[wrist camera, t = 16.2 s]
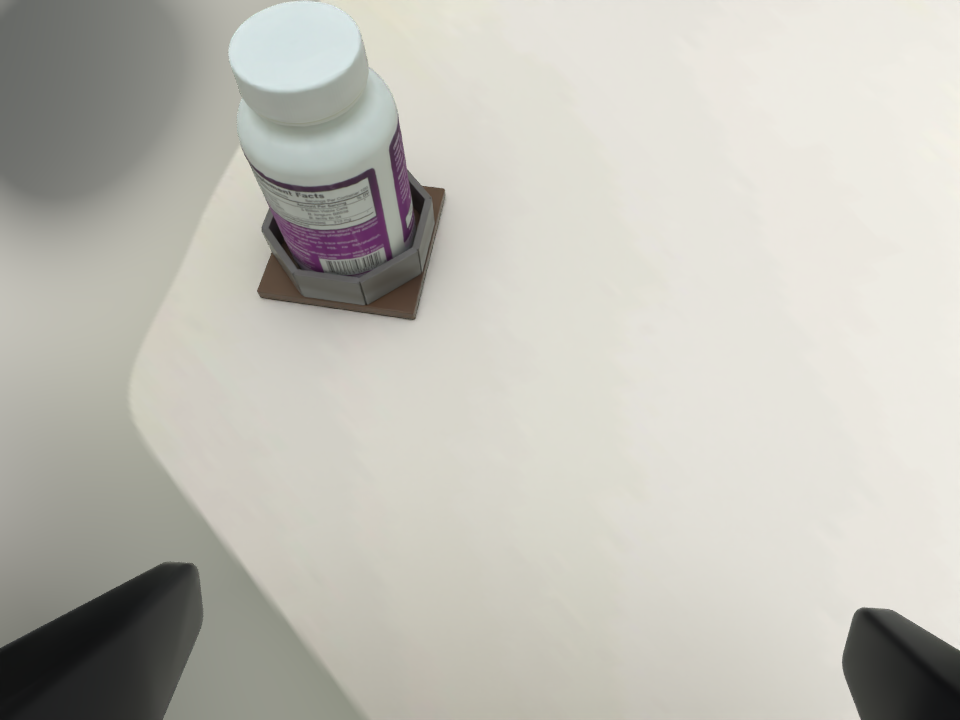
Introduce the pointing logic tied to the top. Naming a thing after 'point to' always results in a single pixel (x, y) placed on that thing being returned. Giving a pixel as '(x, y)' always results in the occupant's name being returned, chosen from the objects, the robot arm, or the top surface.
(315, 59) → the pill bottle
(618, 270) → the top surface
